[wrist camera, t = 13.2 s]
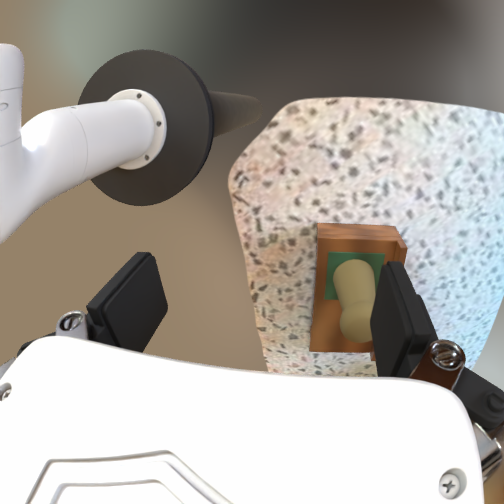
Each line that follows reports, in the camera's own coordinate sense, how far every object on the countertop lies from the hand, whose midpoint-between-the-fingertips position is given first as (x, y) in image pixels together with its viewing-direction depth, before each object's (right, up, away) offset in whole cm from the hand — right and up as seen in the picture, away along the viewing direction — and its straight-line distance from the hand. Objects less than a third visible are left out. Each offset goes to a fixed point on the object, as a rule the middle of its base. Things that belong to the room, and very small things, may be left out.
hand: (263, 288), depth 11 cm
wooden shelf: (+16, -4, +34) cm, 38 cm away
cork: (+14, -2, +28) cm, 31 cm away
